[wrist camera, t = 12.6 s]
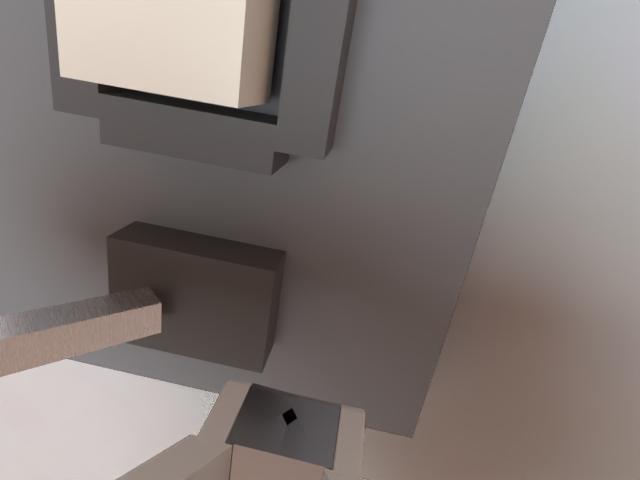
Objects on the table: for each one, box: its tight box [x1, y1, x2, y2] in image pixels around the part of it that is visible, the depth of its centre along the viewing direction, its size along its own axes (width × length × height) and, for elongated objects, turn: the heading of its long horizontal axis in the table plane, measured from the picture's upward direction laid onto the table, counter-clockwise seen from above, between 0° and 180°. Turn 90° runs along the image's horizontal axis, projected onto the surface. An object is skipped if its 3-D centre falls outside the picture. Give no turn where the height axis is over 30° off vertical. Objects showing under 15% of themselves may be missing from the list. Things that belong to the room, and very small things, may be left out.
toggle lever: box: [0, 287, 162, 377], centre depth 10 cm, size 2×2×7 cm
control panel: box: [0, 0, 556, 438], centre depth 11 cm, size 16×25×5 cm, turn 171°
